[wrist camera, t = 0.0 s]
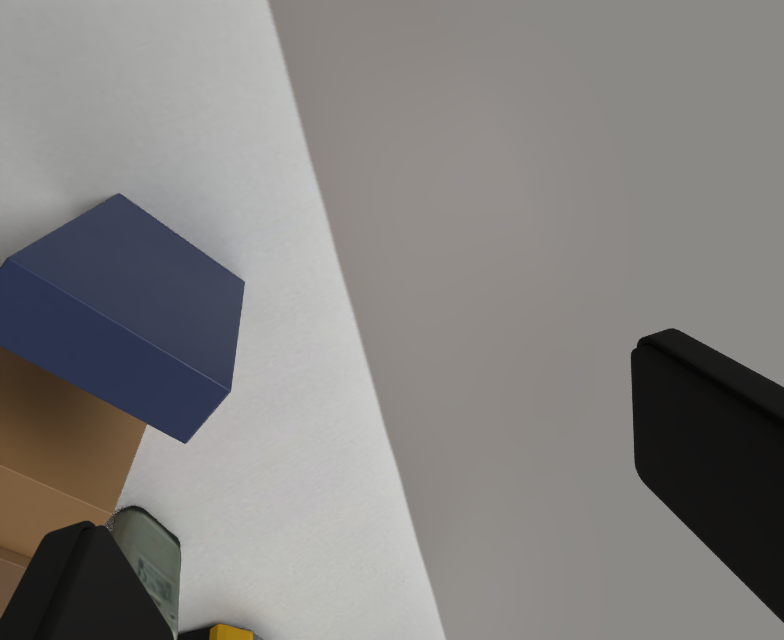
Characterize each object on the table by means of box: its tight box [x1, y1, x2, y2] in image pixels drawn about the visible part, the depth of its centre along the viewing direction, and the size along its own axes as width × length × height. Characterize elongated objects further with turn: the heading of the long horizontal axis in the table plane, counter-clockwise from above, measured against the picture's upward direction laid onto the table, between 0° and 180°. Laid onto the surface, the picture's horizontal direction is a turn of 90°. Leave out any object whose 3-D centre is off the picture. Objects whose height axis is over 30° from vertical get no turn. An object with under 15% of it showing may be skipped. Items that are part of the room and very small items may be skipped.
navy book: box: [0, 193, 245, 444], centre depth 23 cm, size 8×3×13 cm, turn 48°
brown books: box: [0, 346, 147, 619], centre depth 25 cm, size 8×7×12 cm
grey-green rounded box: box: [111, 506, 181, 640], centre depth 32 cm, size 6×5×8 cm
